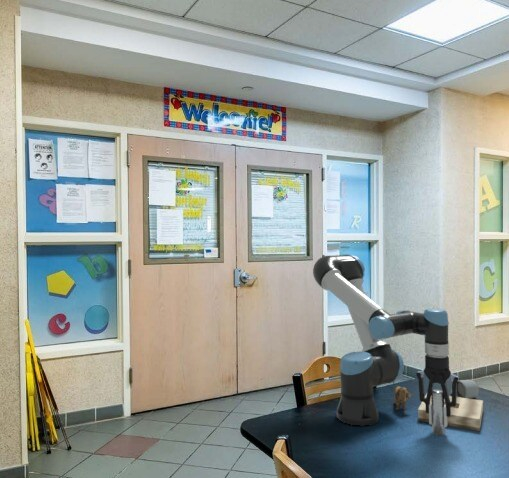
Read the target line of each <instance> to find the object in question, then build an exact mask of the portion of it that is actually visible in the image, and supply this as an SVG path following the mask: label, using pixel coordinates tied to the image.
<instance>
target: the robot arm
mask: <svg viewBox="0 0 509 478" xmlns="http://www.w3.org/2000/svg"><path fill="white" fill-rule="evenodd" d="M365 269H366V268H365V266H364V263H363V261H362V260H361V259H360V258H359V257H358V256H356V255H353V254H342V255H341V254H339V255H337V254H336V255H323V256H322V257H320V258H318V259H317V260H316V262H315V264H314V265H313V268H312V275H313V278H314V280H315V282H316V283H317V284H318V286H320V288H322V289H323V290H324V291H329V292H330V293H332V294H333V296H335V297H336V298H337V299H339V300H340V301H341V302H342V303H343V304H344V305H345V306H346V307H347V309H348V311H349V314H350V317H351V319H352V322H353V325H354V328H355V330H356V332H357V335H358V338H359V340H360V342H361V345H362V350H361V351H351V352H348V353H345V354H344V355H343V356H342V357H341V358H340V365H339V366H340V367H339V372H340V375H339V376H340V399H339V401H338V406H337V408H336V418H338V419H339V420H340V421H342V422H345V423H347V424H346V425H348V424H352V425H364V426H363V427H366V426H365V425H370V426H373V425H375V423H376V424H377V423H379V421H378V420H380V419H379V418H380V417H379V416H380V415H379V411H378V409H377V405H376V403H375V399H374V388H375V387H379V386H382V385H385V384H390V383H393V382H396V381H398V380H399V379H400V378H401V377H402V376H403V372H404V369H405V364H404V359H403V358H402V355H401V354H400V352H398V351H397V350H394V349H392V346H391V345H390V343H389V342H387V341H386V340H384V339H389V338H394V337H398V336H403V335H410V334H413V335H414V334H415V335H420V336H424V353H425V355H424V361H425V362H424V363H425V364H424V369H423V370H417V372H416V377H417V379H418V390H419V391H418V392H419V393H418V395H419V401H420V402H421V403H422V402H424V403H425V404H426V413H429V422H428V423H429V425H431V426H432V403H430V399H431V391H432V390H434V384H435V383H436V384H440V387H441V391H443V395H444V400H445V404H446V405H444V427H445V428H447V427H448V425H447V424H448V423H447V417H450V415H451V407H452V406H456V401H457V381H458V380H459V379H460V377H459V376H460V375H458V374H453V373H452V372H451V370H450V356H449V355H450V351H449V349H450V345H449V343H450V342H449V325H450V324H449V319H448V318H449V316H448V311H447V310H446V309H443V308H434V307H433V308H431V307H429V308H425V309H424V310H423V313H422V312H417V311H412V310H398V311H397V312H396V313H393V314H391V313H389V312H387V311H386V310H384V308H383V307H381V306H380V305H378V304H377V303H376V302H375V301H374V300H372V299H371V298H370V297H369V296H368V295H366V292H365V291H364V287H363V283H364V277H365V272H366V271H365ZM425 376H426V378H427V379H428V381H429V382H428V387H427V392H426V394H427V396H426V395H425V385H424V384H425V382H424V377H425ZM449 378H450V381H451V382H452V384H451V390H452V394H451V396H452V401H451V402H450V399H449V396H450V395H449V391H448V387H447V386H448V385H447V380H448V379H449ZM425 396H426V398H425ZM338 419H337V420H338ZM339 420H338V421H339ZM340 421H339V422H340ZM342 422H341V423H342ZM352 425H351V426H352Z"/></svg>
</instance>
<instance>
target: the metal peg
mask: <svg viewBox="0 0 509 478" xmlns="http://www.w3.org/2000/svg"><path fill="white" fill-rule="evenodd" d="M431 399H432V425H431V428H432V429H431V433H432V434H433V435H435V436H438V437H439V436H440V437H441V436H442V437H443V436H445V435H446V427H444V395H443V391H442V389H432V391H431Z"/></svg>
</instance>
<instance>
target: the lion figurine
mask: <svg viewBox="0 0 509 478" xmlns="http://www.w3.org/2000/svg"><path fill="white" fill-rule="evenodd" d="M411 396H412V393H410V392H409V391H408V390H407V388H406V387H402V386H399V385H398V386H396V387H395V389H394V401H393V402H392V403H393V405H396V408H395V409H396V410H397V411H398V410H400V404H402V405H401V408H402V409H403V410H407V408H406V407H405V406H406V401H408V399H409V400H410V398H411ZM399 403H400V404H399Z"/></svg>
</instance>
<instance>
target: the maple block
mask: <svg viewBox="0 0 509 478" xmlns="http://www.w3.org/2000/svg"><path fill="white" fill-rule="evenodd" d="M424 396H425V398H426V396H427V393H426V394H425V395H424ZM449 399H450V402H451V401H452V395H449ZM430 403H432V399H430ZM444 405H446V404H445V400H444ZM483 414H484V400H481V399H475V398H471V399H468V398H461V397H457V401H456V406H452V407H451V415H450V417H447V423H448V424H447V427H454V428H460V429H467V430H472V431H479V432H480V431H481V426H482V421H483V416H484V415H483ZM417 419H418V421H419V422H426V423H429V413H426V404H425V403H424V402H421V404H420V405H419V407H418V409H417Z"/></svg>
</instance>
